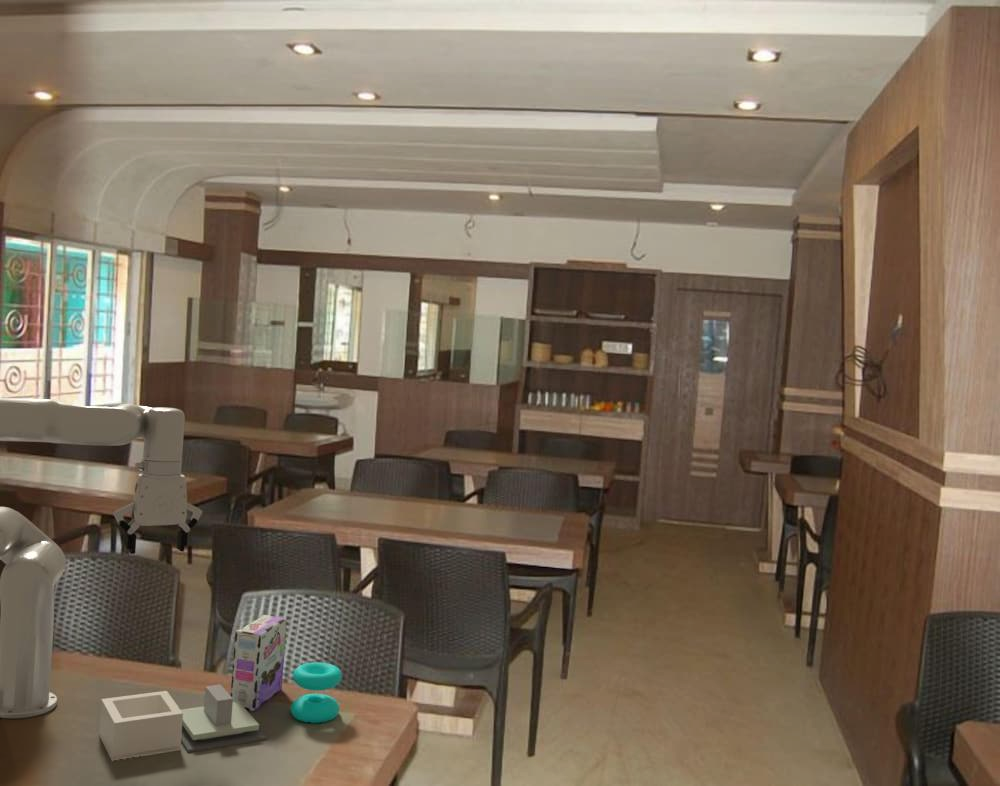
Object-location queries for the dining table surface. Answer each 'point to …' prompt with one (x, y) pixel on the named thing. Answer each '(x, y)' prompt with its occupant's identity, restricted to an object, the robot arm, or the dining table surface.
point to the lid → (217, 716)
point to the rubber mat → (219, 740)
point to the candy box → (258, 661)
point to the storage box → (140, 725)
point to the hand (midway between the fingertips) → (156, 551)
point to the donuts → (316, 705)
